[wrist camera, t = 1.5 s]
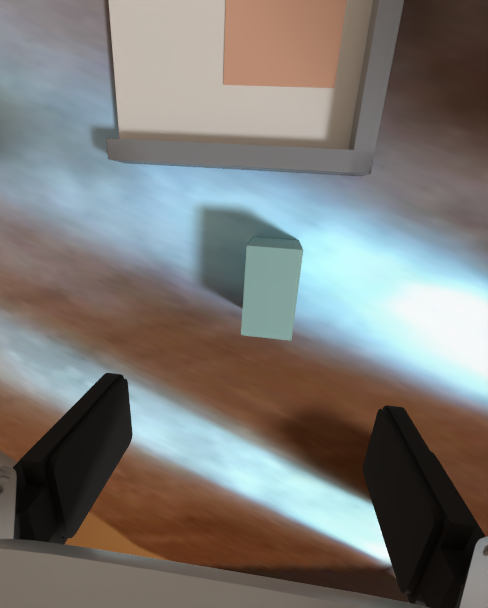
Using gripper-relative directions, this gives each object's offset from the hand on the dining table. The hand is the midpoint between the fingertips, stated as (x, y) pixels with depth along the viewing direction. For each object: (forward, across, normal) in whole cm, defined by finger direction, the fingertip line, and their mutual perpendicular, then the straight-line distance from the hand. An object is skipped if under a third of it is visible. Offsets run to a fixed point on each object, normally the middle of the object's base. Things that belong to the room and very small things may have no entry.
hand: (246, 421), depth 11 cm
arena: (+21, +3, -21) cm, 30 cm away
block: (+21, -1, 0) cm, 21 cm away
